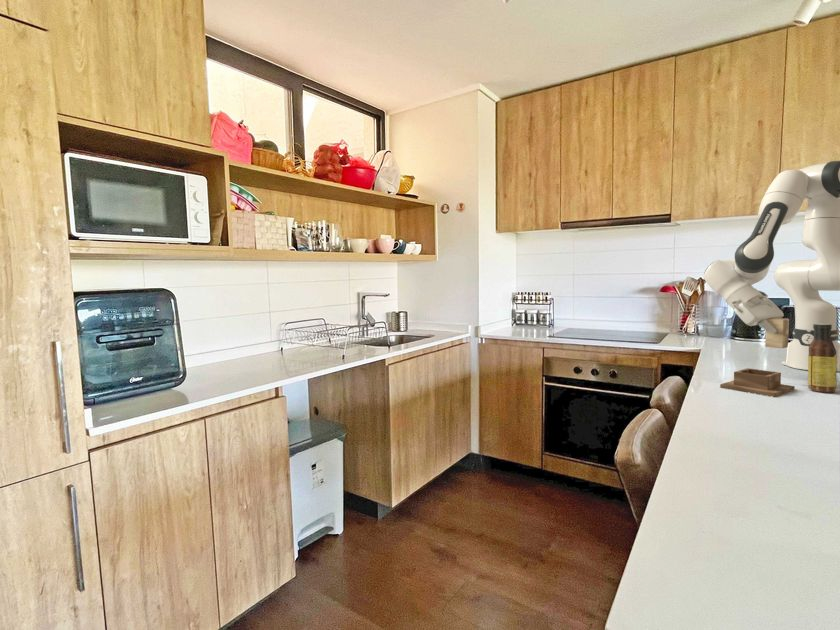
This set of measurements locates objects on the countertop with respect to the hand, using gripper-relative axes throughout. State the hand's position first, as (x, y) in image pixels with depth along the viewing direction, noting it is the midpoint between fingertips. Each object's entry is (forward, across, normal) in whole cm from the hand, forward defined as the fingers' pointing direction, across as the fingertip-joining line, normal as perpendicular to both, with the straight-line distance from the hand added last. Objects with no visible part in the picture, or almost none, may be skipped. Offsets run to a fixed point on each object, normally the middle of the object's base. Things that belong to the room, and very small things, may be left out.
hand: (779, 331), depth 141 cm
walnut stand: (+11, -13, +12) cm, 21 cm away
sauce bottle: (+20, -2, +4) cm, 20 cm away
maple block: (+3, 0, +4) cm, 5 cm away
